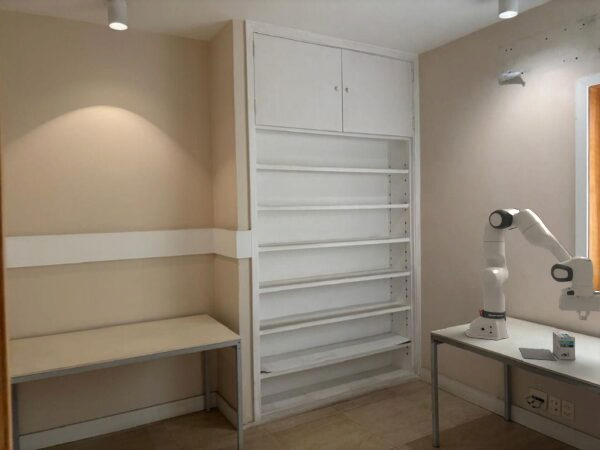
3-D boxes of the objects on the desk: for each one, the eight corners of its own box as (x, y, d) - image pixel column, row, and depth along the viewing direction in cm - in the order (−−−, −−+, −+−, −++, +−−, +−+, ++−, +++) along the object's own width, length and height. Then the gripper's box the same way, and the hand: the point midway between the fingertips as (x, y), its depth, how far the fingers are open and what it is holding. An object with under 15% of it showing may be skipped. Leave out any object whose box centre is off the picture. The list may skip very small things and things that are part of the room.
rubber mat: (523, 358, 224) (523, 357, 224) (518, 348, 239) (518, 347, 239) (556, 360, 220) (556, 359, 220) (549, 350, 235) (549, 349, 235)
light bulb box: (575, 360, 220) (575, 337, 220) (560, 359, 221) (560, 337, 221) (566, 352, 231) (566, 331, 230) (552, 352, 232) (552, 330, 231)
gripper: (605, 290, 222) (606, 319, 223) (557, 289, 228) (557, 317, 229) (610, 292, 216) (610, 322, 217) (560, 291, 222) (561, 320, 223)
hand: (583, 320), depth 223 cm, fingers closed
